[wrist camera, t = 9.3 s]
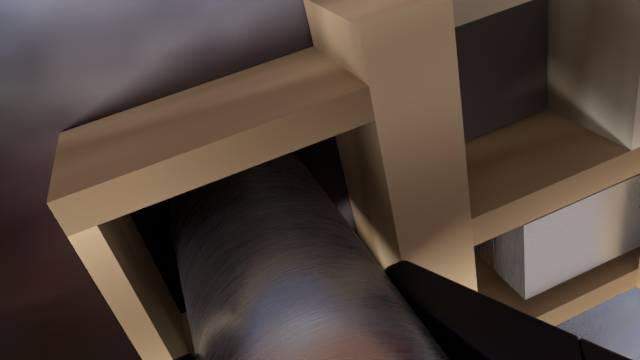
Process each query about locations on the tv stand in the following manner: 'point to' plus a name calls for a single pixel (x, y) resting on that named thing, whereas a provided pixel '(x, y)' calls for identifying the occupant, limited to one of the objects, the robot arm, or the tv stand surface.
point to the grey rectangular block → (567, 240)
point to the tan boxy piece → (550, 64)
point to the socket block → (356, 158)
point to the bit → (285, 274)
